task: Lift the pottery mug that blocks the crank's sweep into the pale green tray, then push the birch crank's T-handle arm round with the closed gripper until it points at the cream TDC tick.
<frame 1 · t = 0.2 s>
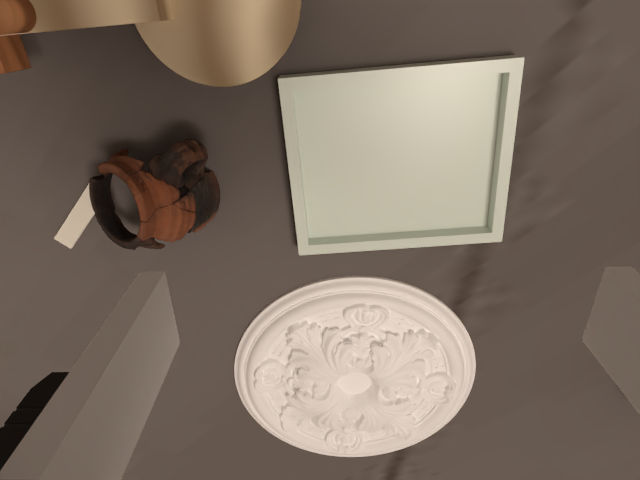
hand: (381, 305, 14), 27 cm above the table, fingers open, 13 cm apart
pottery mug: (174, 177, 41), on the table
tray: (396, 159, 40), on the table
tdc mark: (82, 214, 43), on the table
crank: (132, 1, 29), point 6 cm above the table, hinge at 0.0°
ceiling medallion: (353, 372, 53), on the table
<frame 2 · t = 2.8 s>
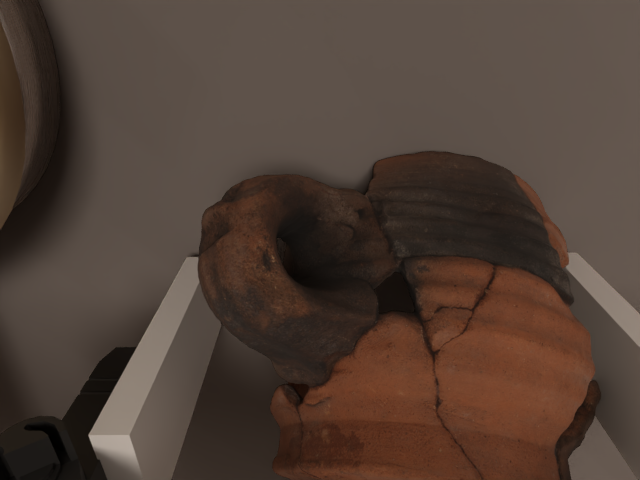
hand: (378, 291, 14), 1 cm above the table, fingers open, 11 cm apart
pottery mug: (383, 268, 15), on the table, touching gripper
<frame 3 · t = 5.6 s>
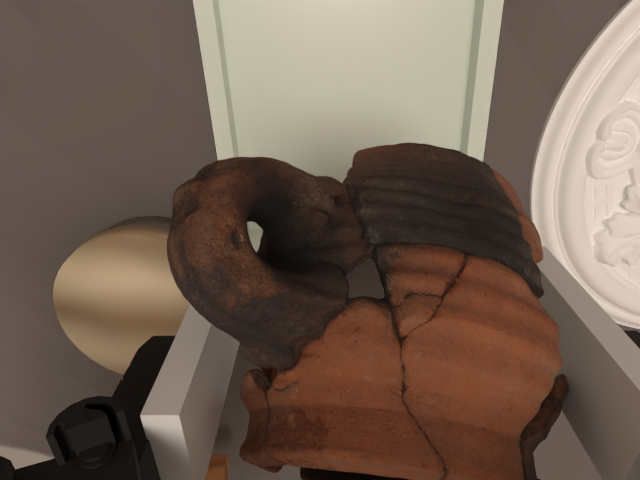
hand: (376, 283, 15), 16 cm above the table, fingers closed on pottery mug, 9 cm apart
crank housing: (164, 282, 33), on the table
pottery mug: (362, 259, 15), point 15 cm above the table, touching gripper
tray: (347, 95, 27), on the table
crank: (150, 391, 30), point 6 cm above the table, hinge at 0.0°
when the fingers open (1 cm above the table, at t = 8.1 s): pottery mug stays where it is, resting on tray.
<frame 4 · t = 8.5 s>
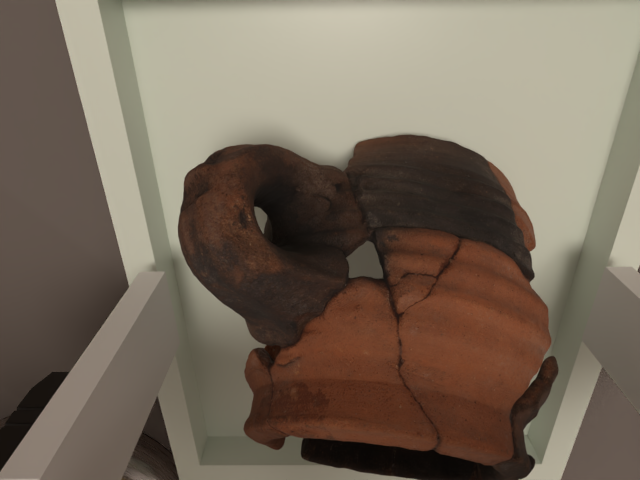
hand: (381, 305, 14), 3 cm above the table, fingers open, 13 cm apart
pottery mug: (362, 248, 15), resting on tray
tray: (372, 261, 16), on the table
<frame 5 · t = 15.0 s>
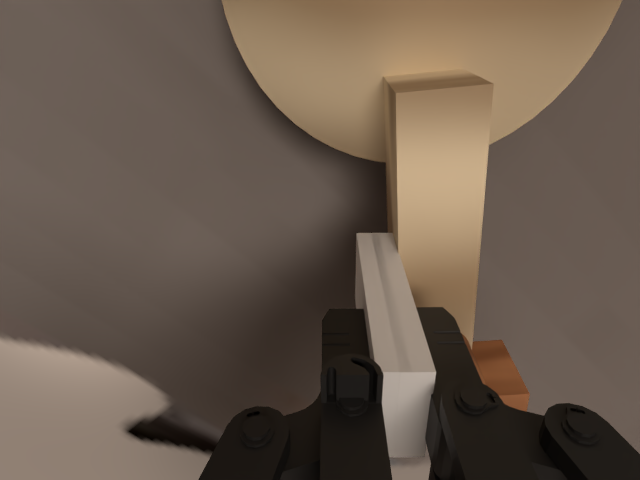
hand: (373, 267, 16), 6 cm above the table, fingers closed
crank: (434, 148, 13), point 6 cm above the table, hinge at 4.4°, touching gripper
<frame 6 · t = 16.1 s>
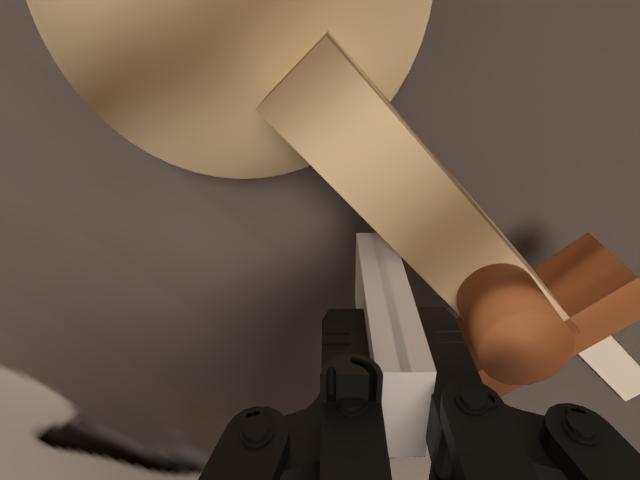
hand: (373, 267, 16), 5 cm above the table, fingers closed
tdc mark: (599, 349, 23), on the table
crank: (340, 120, 12), point 6 cm above the table, hinge at 42.7°, touching gripper
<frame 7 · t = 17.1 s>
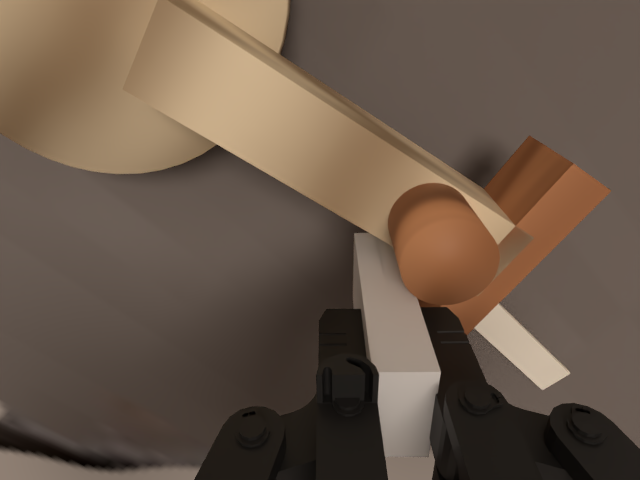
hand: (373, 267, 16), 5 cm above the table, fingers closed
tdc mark: (512, 339, 24), on the table
crank: (217, 81, 12), point 6 cm above the table, hinge at 57.0°, touching gripper
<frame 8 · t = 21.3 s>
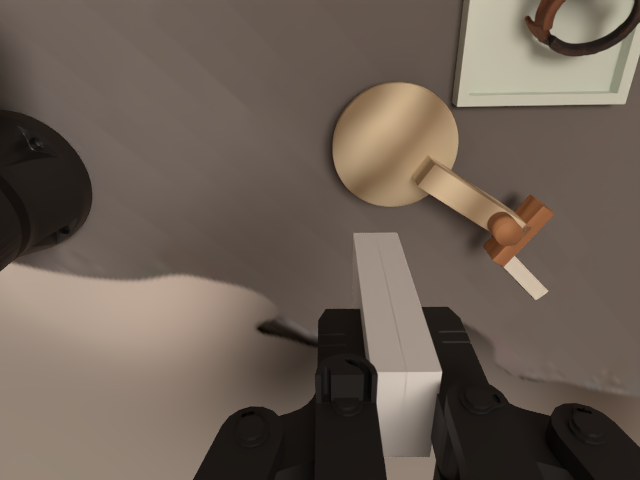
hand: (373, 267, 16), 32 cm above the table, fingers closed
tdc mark: (522, 275, 54), on the table
crank: (439, 182, 42), point 6 cm above the table, hinge at 57.0°
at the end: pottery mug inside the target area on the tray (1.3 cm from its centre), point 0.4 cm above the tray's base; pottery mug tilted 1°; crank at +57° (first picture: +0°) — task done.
